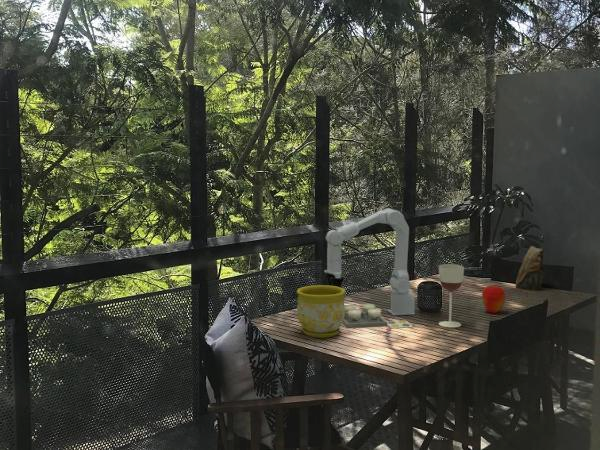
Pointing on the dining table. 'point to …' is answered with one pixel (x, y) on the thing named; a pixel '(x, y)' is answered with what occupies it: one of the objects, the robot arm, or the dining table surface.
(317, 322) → the flowerpot
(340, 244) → the robot arm
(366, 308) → the button
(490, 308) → the apple
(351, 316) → the button
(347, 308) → the button
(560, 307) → the dining table surface
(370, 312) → the button
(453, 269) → the wineglass
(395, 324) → the card
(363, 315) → the button board
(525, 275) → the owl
